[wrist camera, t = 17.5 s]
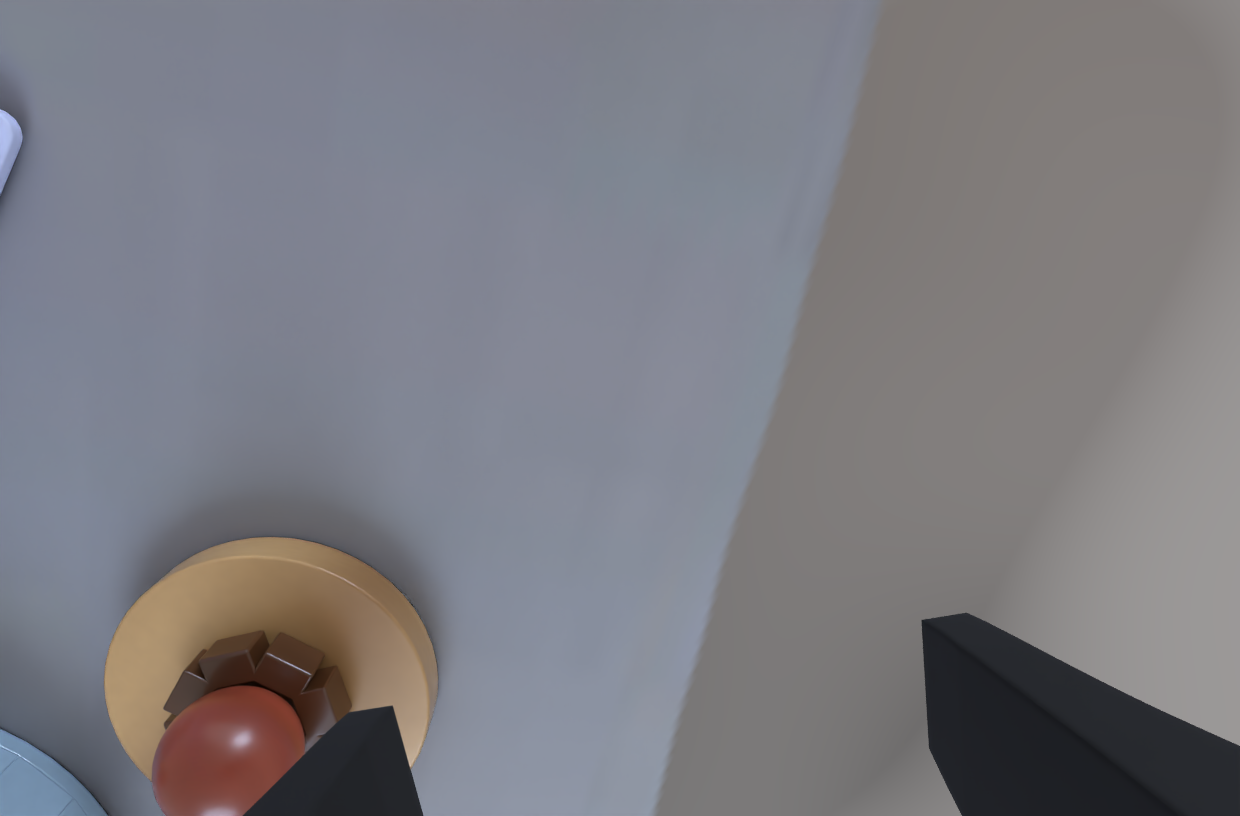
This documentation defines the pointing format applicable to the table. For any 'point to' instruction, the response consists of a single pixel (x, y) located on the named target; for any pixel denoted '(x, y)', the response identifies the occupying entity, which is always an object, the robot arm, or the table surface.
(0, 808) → the light blue bowl
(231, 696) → the ball
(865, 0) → the table surface
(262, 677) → the holder
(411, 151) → the table surface
